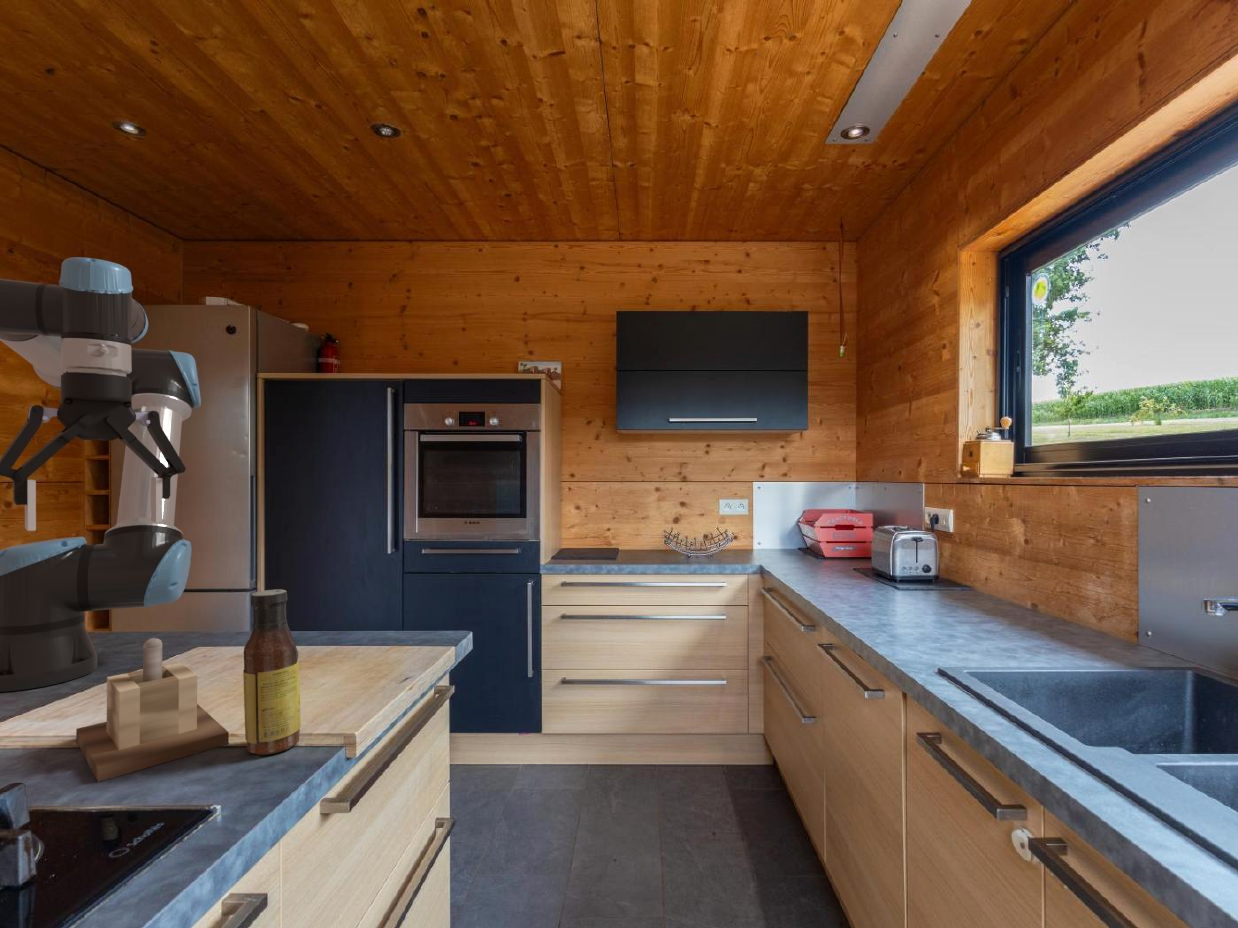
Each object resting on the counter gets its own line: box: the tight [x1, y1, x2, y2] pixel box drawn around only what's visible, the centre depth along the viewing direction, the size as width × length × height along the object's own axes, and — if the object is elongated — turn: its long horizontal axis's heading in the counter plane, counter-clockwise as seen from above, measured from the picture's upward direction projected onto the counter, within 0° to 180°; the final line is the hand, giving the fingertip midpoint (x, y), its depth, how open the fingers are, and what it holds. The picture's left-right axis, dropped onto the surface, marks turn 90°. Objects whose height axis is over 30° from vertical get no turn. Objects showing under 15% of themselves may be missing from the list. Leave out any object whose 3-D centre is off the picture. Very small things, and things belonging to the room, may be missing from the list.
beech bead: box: [106, 662, 198, 750], centre depth 80 cm, size 8×8×7 cm
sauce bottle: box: [242, 588, 302, 756], centre depth 78 cm, size 7×6×20 cm
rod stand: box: [75, 637, 230, 783], centre depth 79 cm, size 16×13×14 cm
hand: (97, 525), depth 85 cm, fingers open, 13 cm apart
